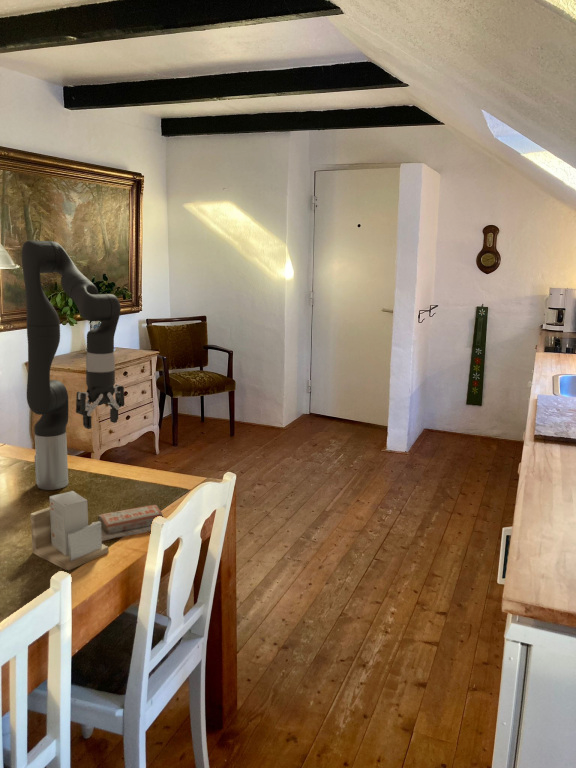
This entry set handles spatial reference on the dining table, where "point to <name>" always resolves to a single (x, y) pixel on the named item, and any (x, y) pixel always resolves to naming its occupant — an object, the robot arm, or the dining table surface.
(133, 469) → the dining table surface
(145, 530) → the packaged product
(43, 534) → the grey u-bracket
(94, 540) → the grey rectangular panel
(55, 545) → the small box
